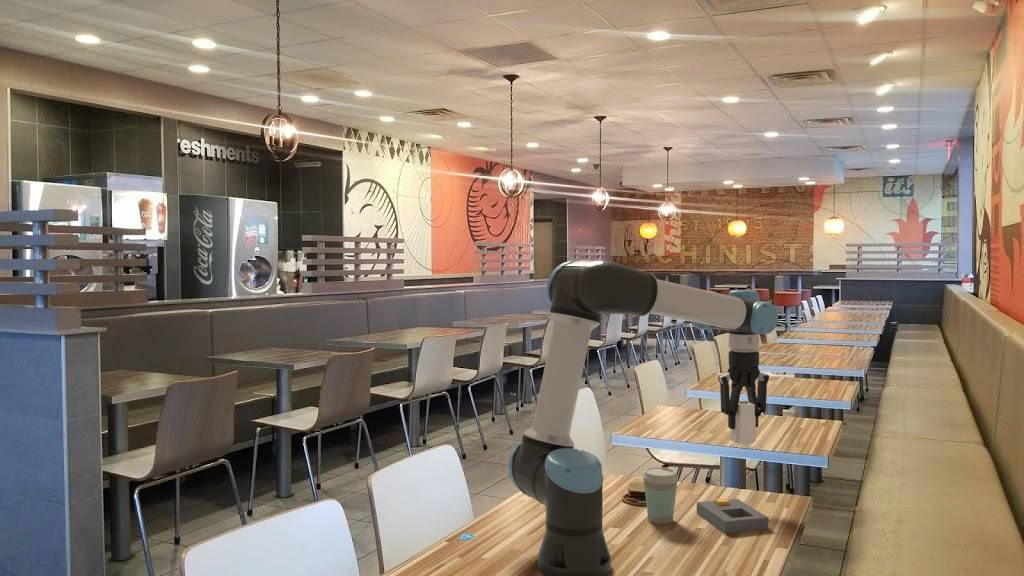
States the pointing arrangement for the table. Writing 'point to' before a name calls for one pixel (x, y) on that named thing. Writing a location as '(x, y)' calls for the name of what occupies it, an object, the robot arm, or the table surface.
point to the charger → (746, 422)
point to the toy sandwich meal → (635, 494)
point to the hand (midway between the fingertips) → (743, 440)
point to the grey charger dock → (732, 516)
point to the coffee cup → (660, 494)
